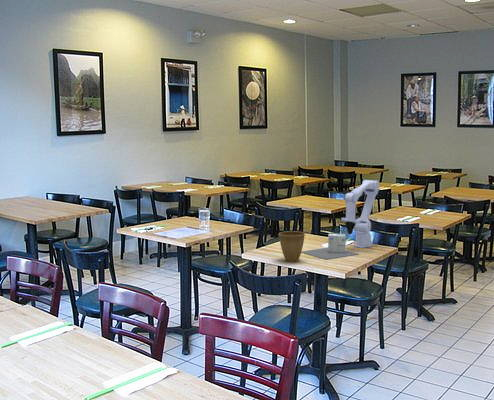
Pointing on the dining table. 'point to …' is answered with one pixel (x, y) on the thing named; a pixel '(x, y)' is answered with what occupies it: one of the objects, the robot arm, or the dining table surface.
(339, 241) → the light bulb box
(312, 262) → the dining table surface
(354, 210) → the robot arm
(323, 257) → the mat
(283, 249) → the plant pot
